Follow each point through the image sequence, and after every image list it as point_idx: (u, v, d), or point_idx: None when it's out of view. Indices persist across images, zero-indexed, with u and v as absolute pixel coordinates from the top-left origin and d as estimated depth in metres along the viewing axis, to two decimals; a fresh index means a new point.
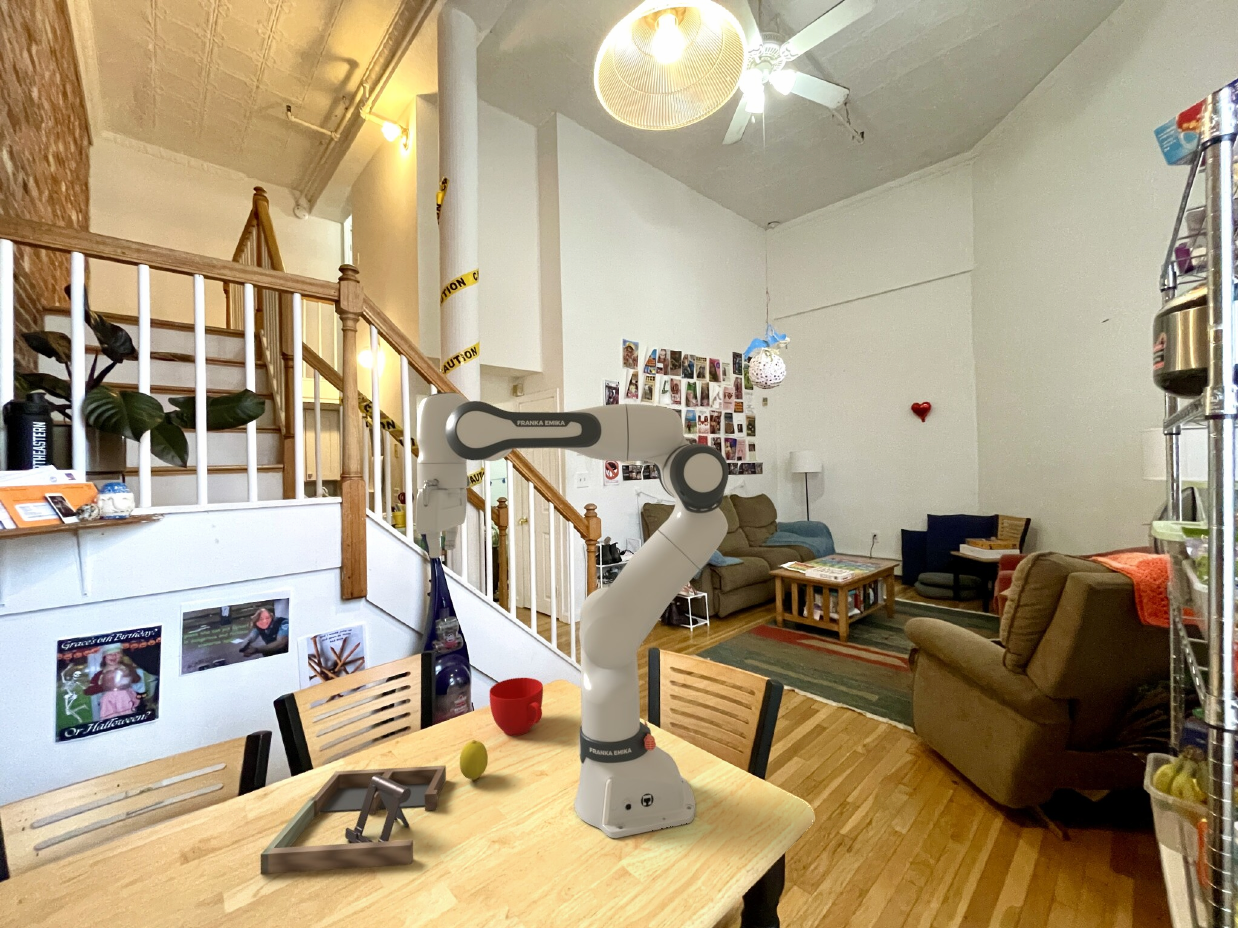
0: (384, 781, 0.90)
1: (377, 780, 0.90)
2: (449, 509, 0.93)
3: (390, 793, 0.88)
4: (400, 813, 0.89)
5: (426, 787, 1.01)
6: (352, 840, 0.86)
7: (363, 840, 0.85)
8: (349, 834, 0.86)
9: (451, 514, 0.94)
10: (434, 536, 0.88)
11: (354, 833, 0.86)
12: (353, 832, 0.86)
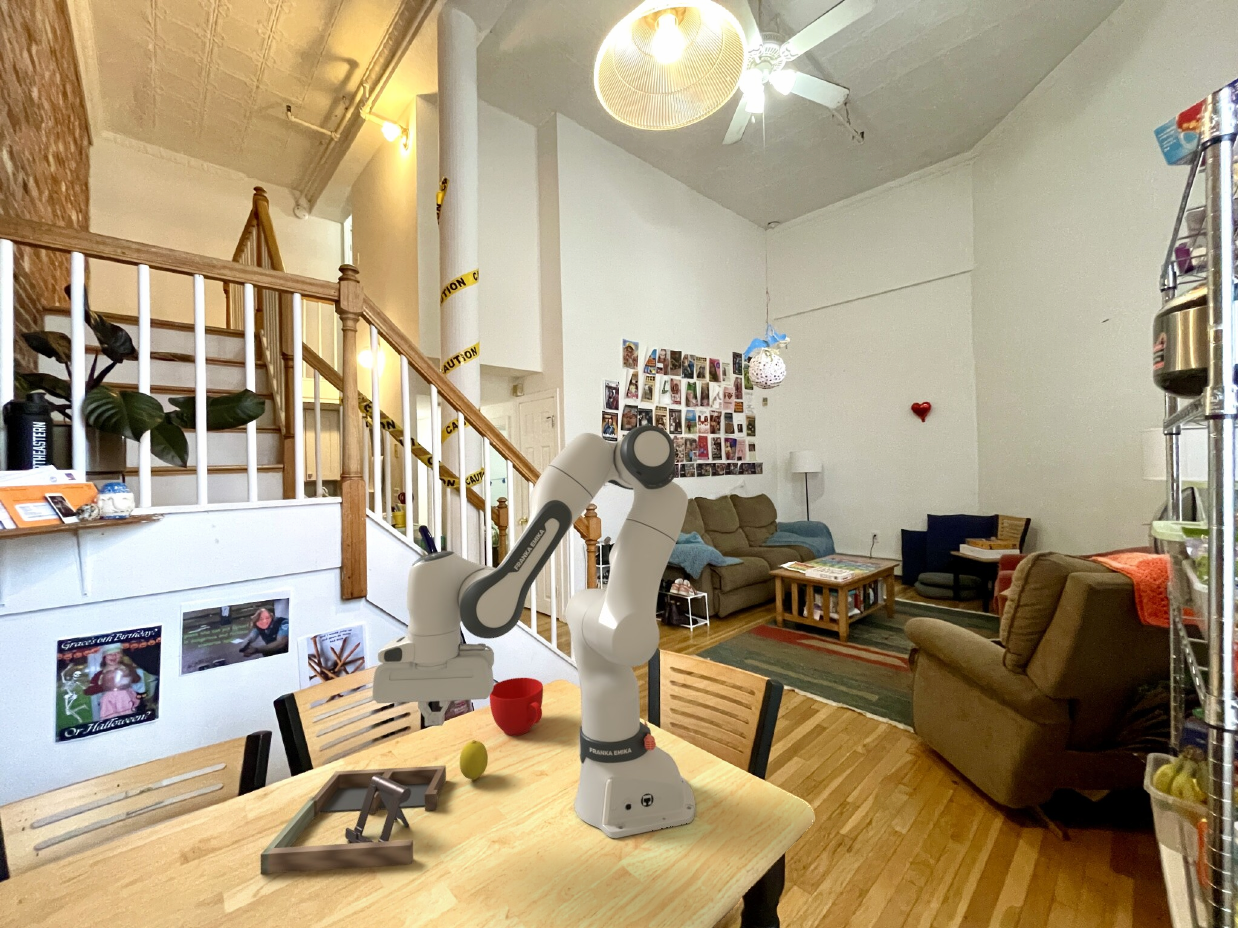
0: (384, 781, 0.90)
1: (377, 780, 0.90)
2: None
3: (390, 793, 0.88)
4: (400, 813, 0.89)
5: (426, 787, 1.01)
6: (352, 840, 0.86)
7: (363, 840, 0.85)
8: (349, 834, 0.86)
9: None
10: (449, 700, 0.89)
11: (354, 833, 0.86)
12: (353, 832, 0.86)
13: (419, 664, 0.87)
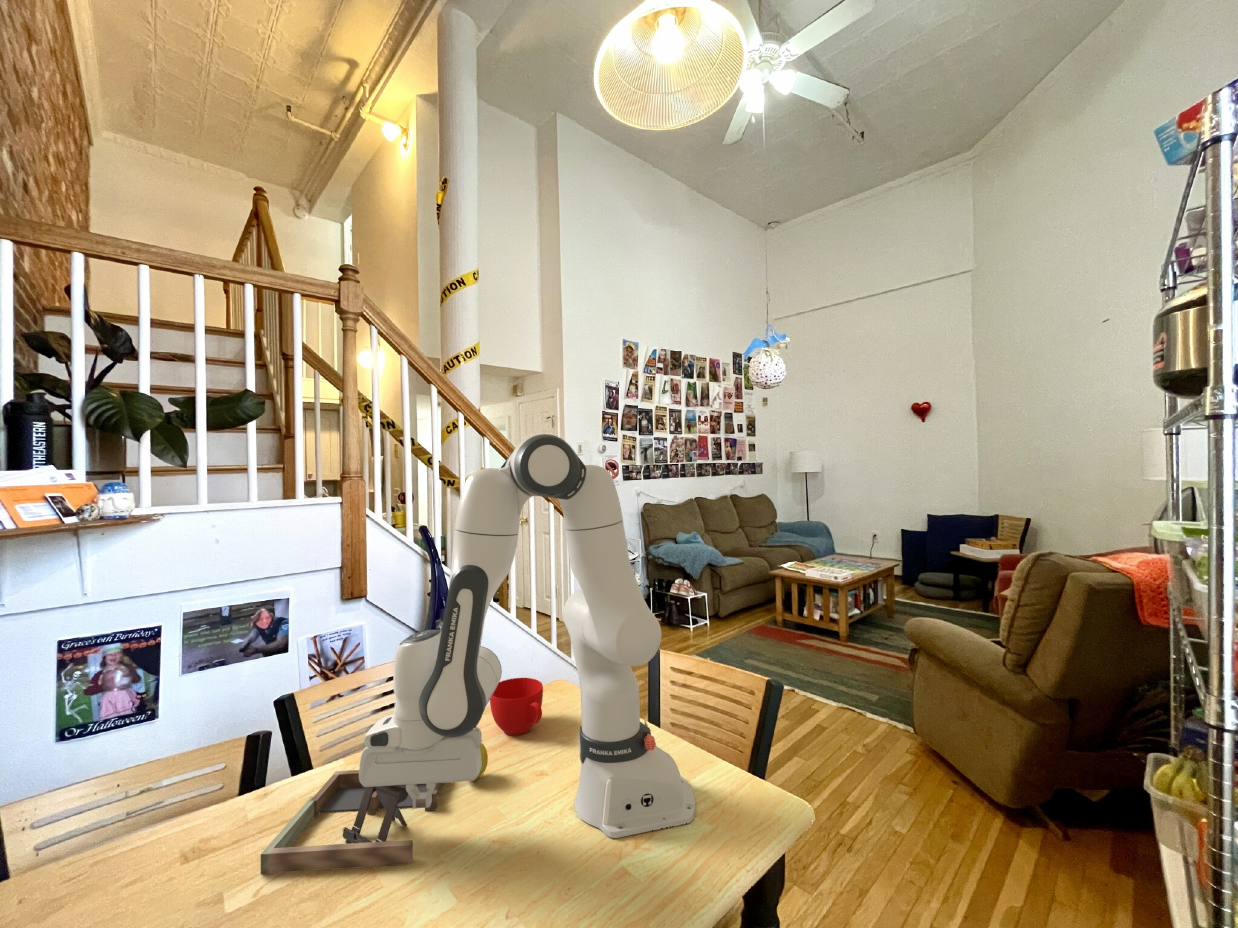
0: None
1: None
2: None
3: (388, 792, 0.88)
4: (398, 812, 0.89)
5: None
6: (350, 839, 0.86)
7: (361, 839, 0.85)
8: (347, 833, 0.86)
9: None
10: None
11: (352, 832, 0.86)
12: (351, 831, 0.86)
13: (406, 748, 0.86)
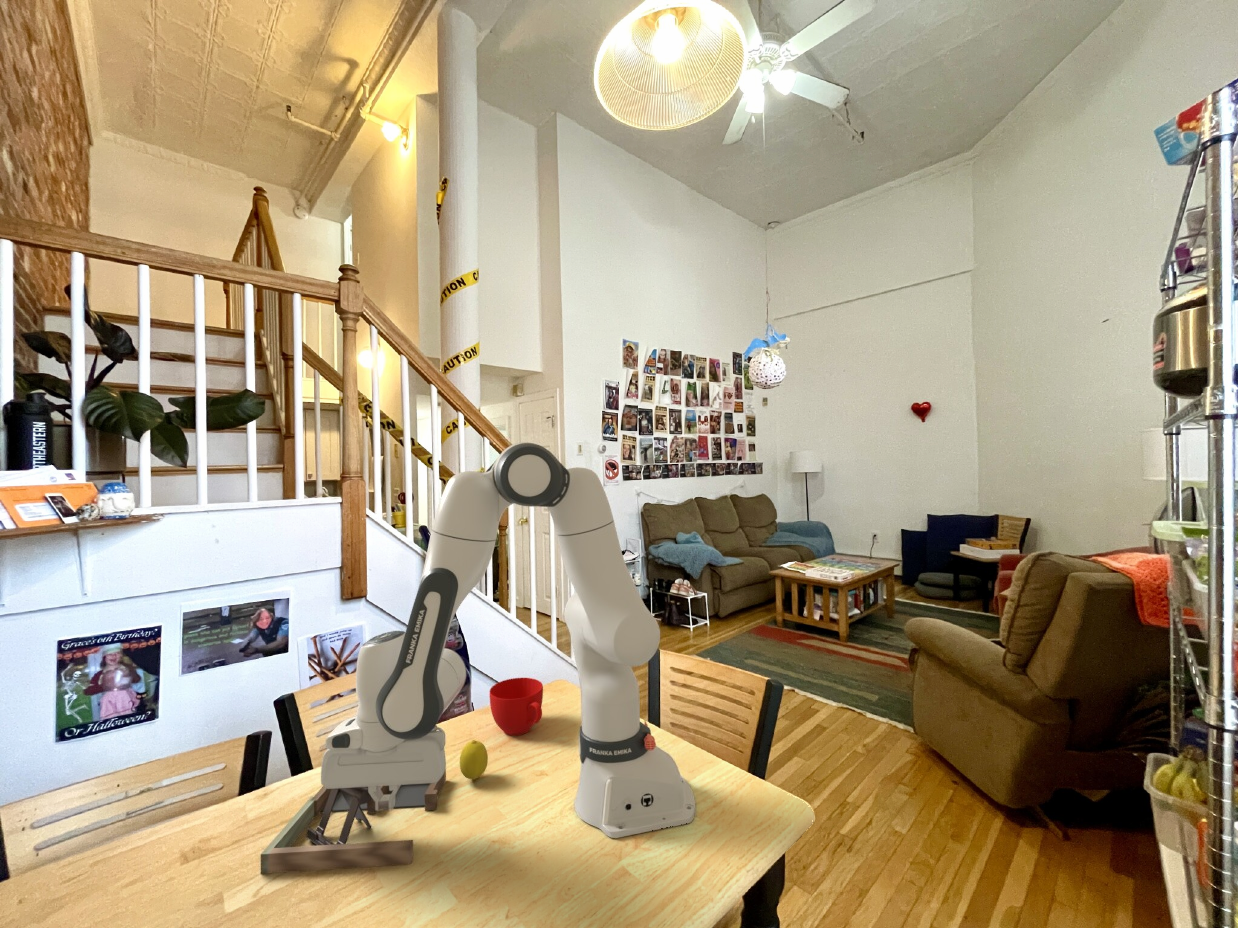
0: None
1: None
2: None
3: (351, 794, 0.88)
4: (362, 814, 0.89)
5: (426, 787, 1.01)
6: (312, 840, 0.86)
7: (322, 840, 0.85)
8: (310, 834, 0.86)
9: None
10: None
11: (314, 833, 0.86)
12: (313, 832, 0.86)
13: (368, 749, 0.86)
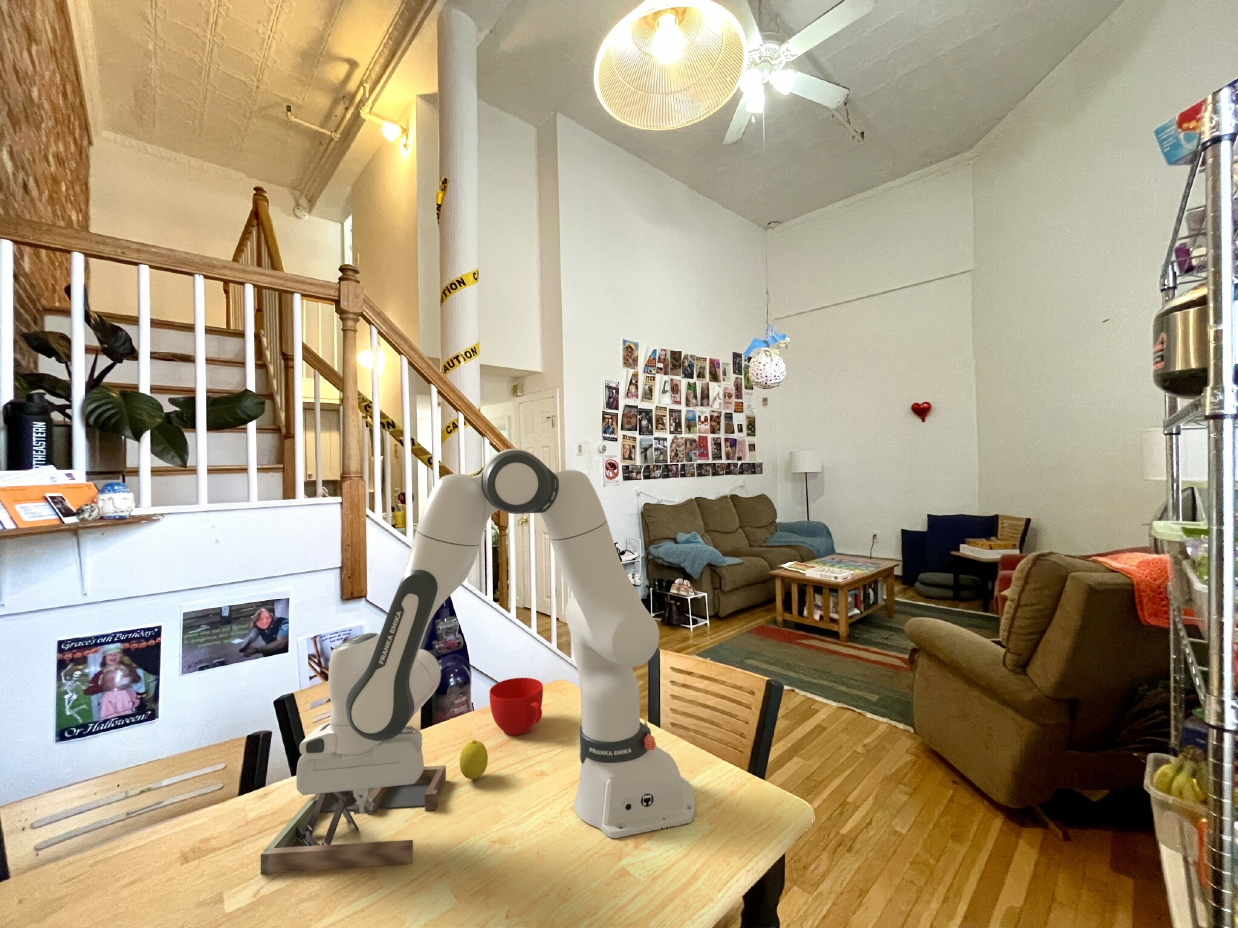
0: None
1: None
2: None
3: (338, 796, 0.87)
4: (349, 816, 0.88)
5: (426, 787, 1.01)
6: (300, 839, 0.86)
7: (309, 841, 0.85)
8: (298, 833, 0.87)
9: None
10: None
11: (302, 832, 0.86)
12: (301, 831, 0.86)
13: (343, 753, 0.85)
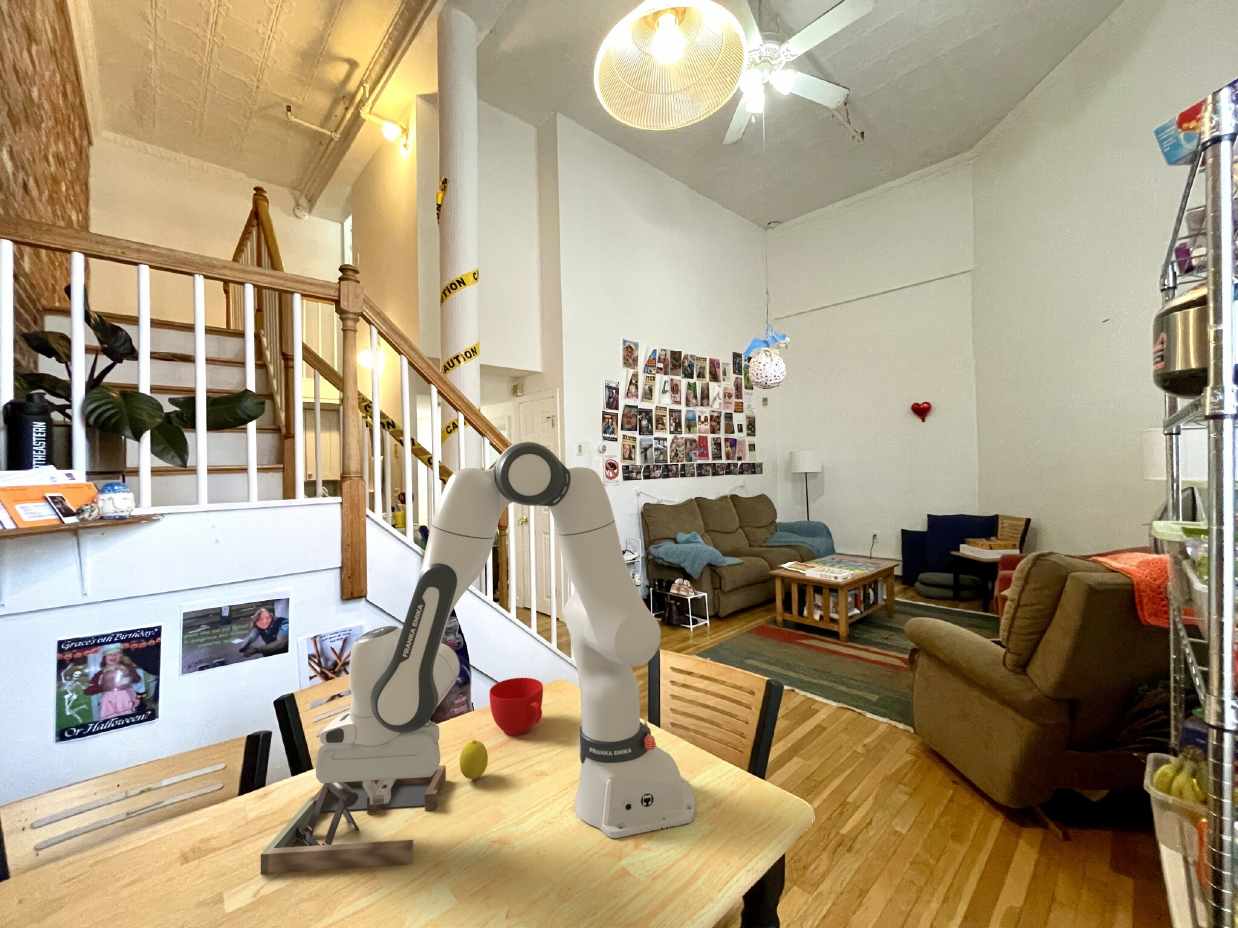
0: (336, 783, 0.90)
1: None
2: None
3: (338, 796, 0.87)
4: (349, 816, 0.88)
5: (426, 787, 1.01)
6: (300, 840, 0.86)
7: (309, 841, 0.85)
8: (298, 833, 0.87)
9: None
10: None
11: (302, 833, 0.86)
12: (301, 832, 0.86)
13: None
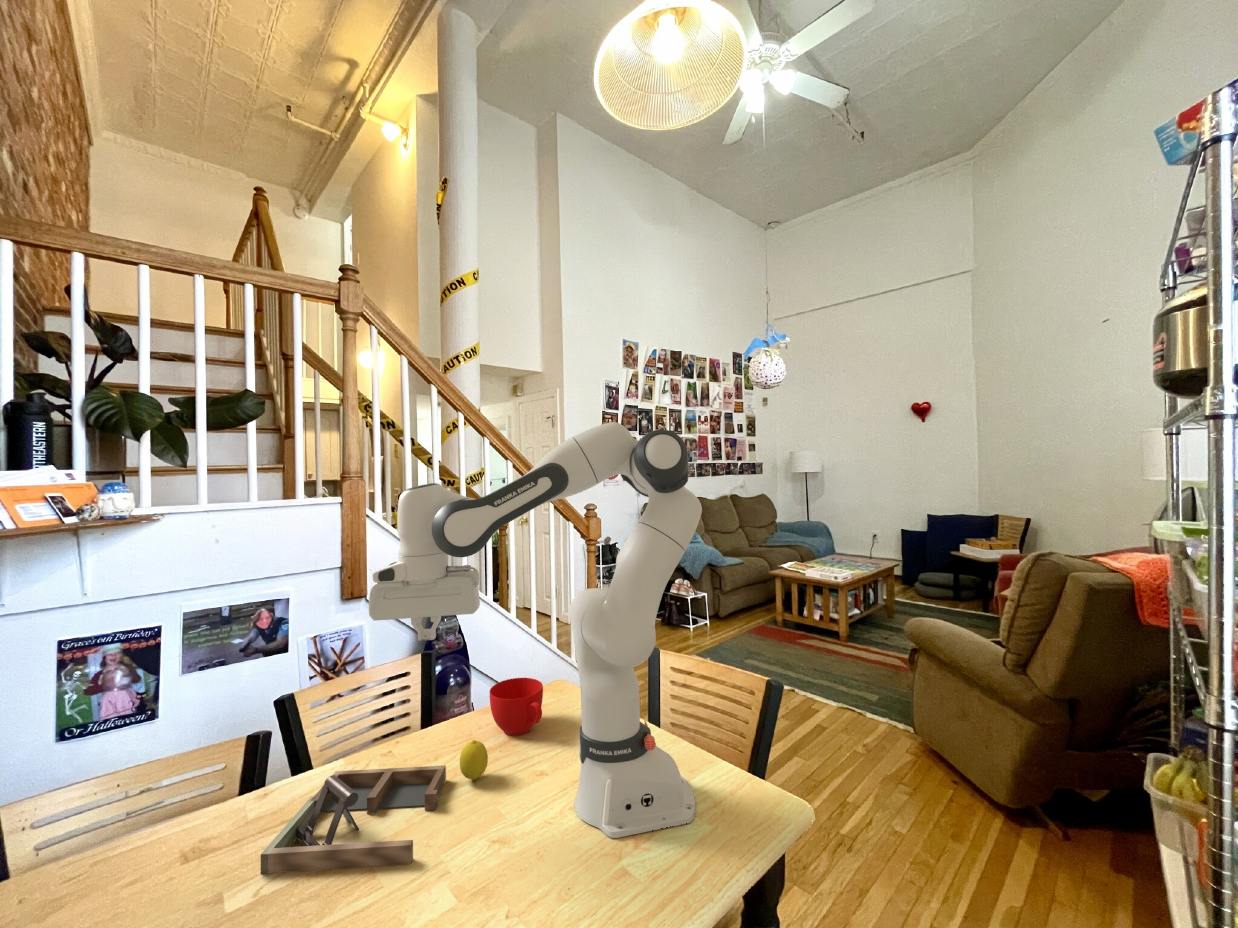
0: (336, 783, 0.90)
1: (330, 781, 0.90)
2: None
3: (338, 796, 0.87)
4: (349, 817, 0.88)
5: (426, 787, 1.01)
6: (300, 840, 0.86)
7: (309, 841, 0.85)
8: (298, 833, 0.87)
9: None
10: (440, 617, 0.98)
11: (302, 833, 0.86)
12: (301, 832, 0.86)
13: (410, 583, 0.95)
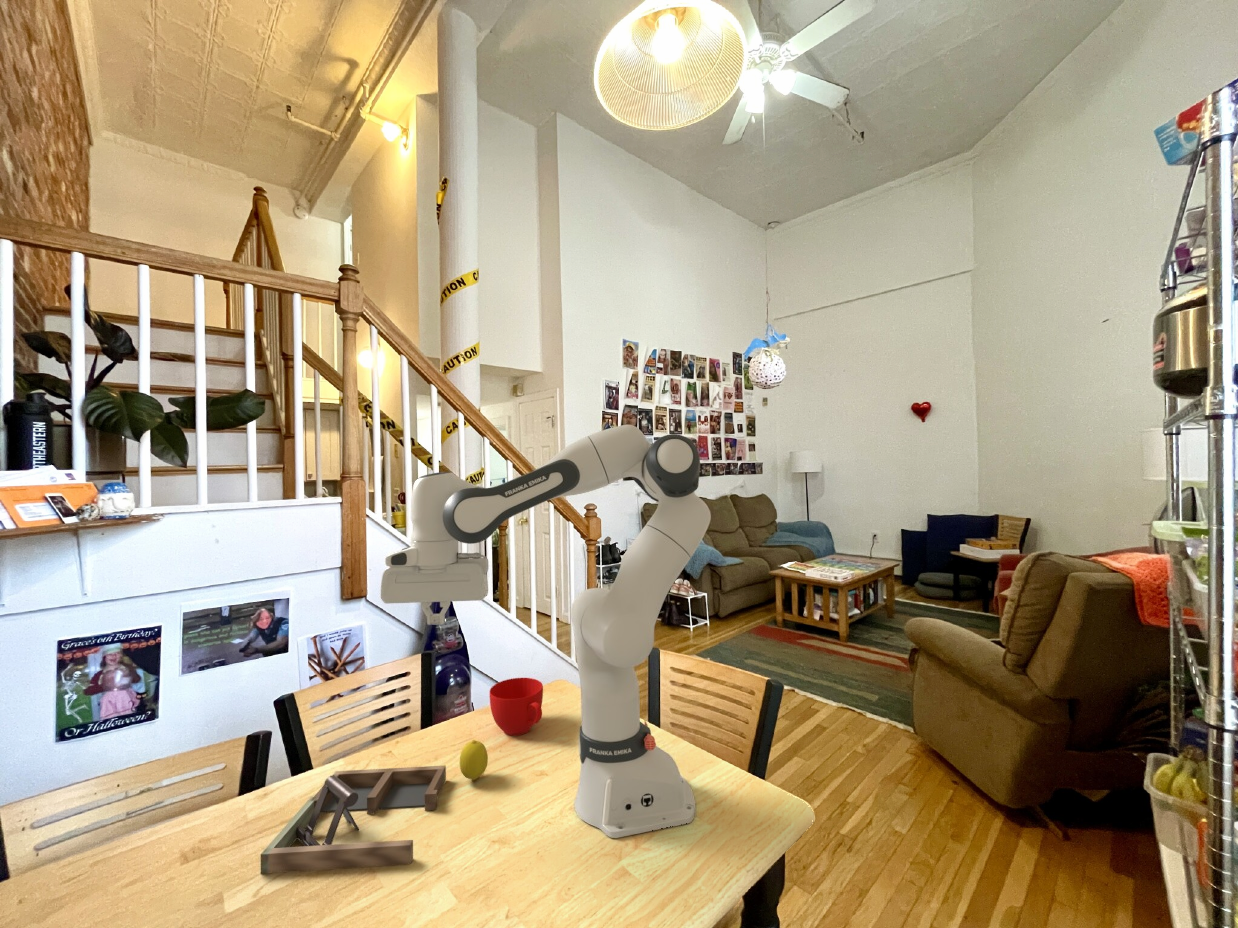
0: (336, 783, 0.90)
1: (330, 781, 0.90)
2: None
3: (338, 796, 0.87)
4: (349, 817, 0.88)
5: (426, 787, 1.01)
6: (300, 840, 0.86)
7: (309, 841, 0.85)
8: (298, 833, 0.87)
9: None
10: (449, 603, 1.01)
11: (302, 833, 0.86)
12: (301, 832, 0.86)
13: (422, 568, 0.98)
